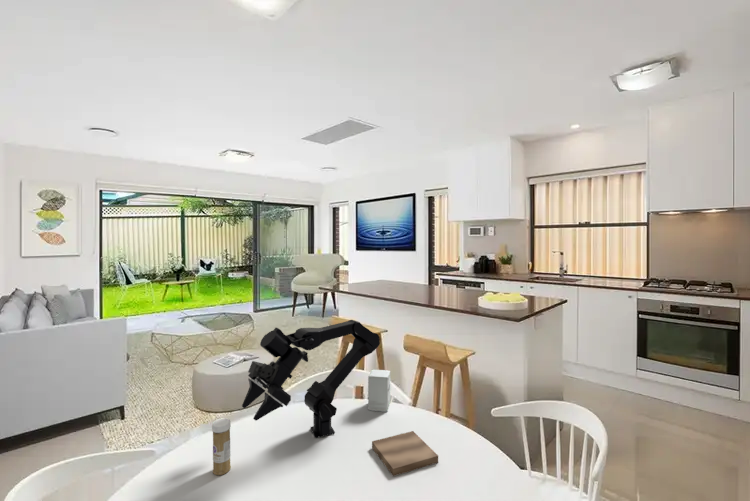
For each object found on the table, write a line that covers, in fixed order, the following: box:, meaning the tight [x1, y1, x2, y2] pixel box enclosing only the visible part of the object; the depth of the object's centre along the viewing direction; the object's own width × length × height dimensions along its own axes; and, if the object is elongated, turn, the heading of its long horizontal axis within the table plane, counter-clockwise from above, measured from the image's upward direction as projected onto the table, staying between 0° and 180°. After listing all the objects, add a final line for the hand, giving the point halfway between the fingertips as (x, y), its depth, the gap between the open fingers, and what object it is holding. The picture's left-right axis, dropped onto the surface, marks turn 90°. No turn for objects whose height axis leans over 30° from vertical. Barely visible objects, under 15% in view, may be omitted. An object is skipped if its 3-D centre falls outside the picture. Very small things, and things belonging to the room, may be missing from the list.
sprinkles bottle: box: [211, 417, 232, 476], centre depth 97 cm, size 5×5×13 cm
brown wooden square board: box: [371, 430, 439, 477], centre depth 103 cm, size 14×14×2 cm
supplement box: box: [367, 369, 391, 413], centre depth 133 cm, size 7×7×13 cm
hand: (248, 413), depth 101 cm, fingers open, 9 cm apart
